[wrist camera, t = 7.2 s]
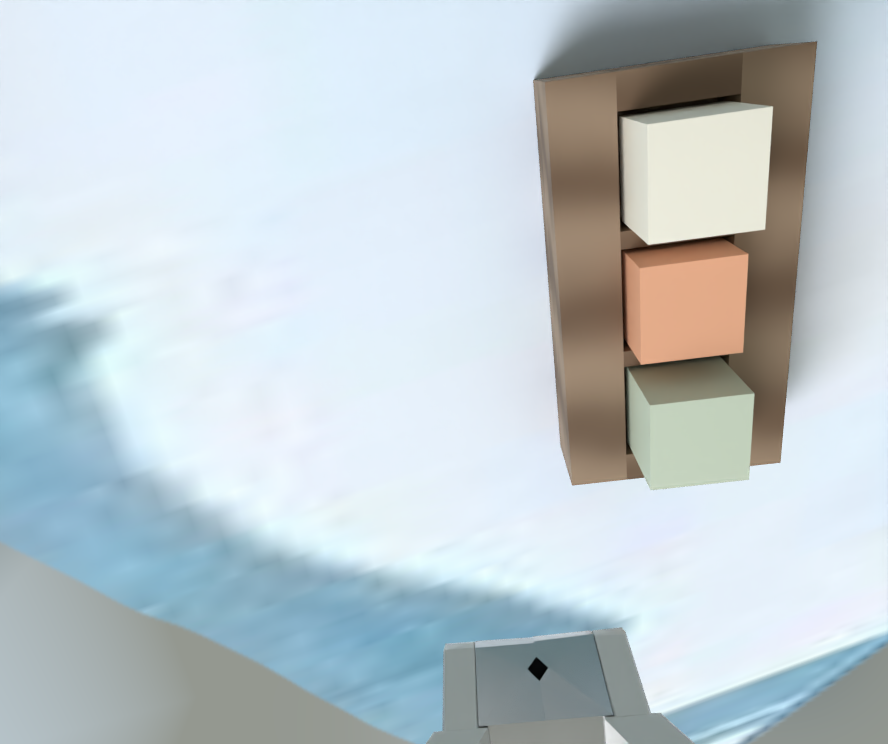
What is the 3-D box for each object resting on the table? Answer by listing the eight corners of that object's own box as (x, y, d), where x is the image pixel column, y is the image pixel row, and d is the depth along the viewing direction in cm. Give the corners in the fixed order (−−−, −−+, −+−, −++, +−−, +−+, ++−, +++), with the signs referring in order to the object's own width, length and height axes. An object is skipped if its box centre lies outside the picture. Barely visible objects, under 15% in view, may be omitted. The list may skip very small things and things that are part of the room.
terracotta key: (615, 242, 36) (639, 268, 31) (709, 230, 35) (748, 254, 31) (617, 328, 38) (641, 364, 33) (707, 317, 37) (743, 352, 33)
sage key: (625, 363, 37) (649, 405, 32) (716, 352, 36) (754, 393, 32) (627, 440, 39) (650, 490, 34) (713, 431, 39) (748, 479, 34)
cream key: (618, 116, 31) (647, 124, 27) (725, 100, 31) (773, 106, 27) (621, 220, 34) (648, 244, 29) (721, 207, 33) (764, 229, 29)
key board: (533, 80, 34) (544, 82, 30) (771, 44, 33) (817, 41, 29) (560, 445, 43) (572, 485, 39) (748, 424, 42) (780, 462, 38)
